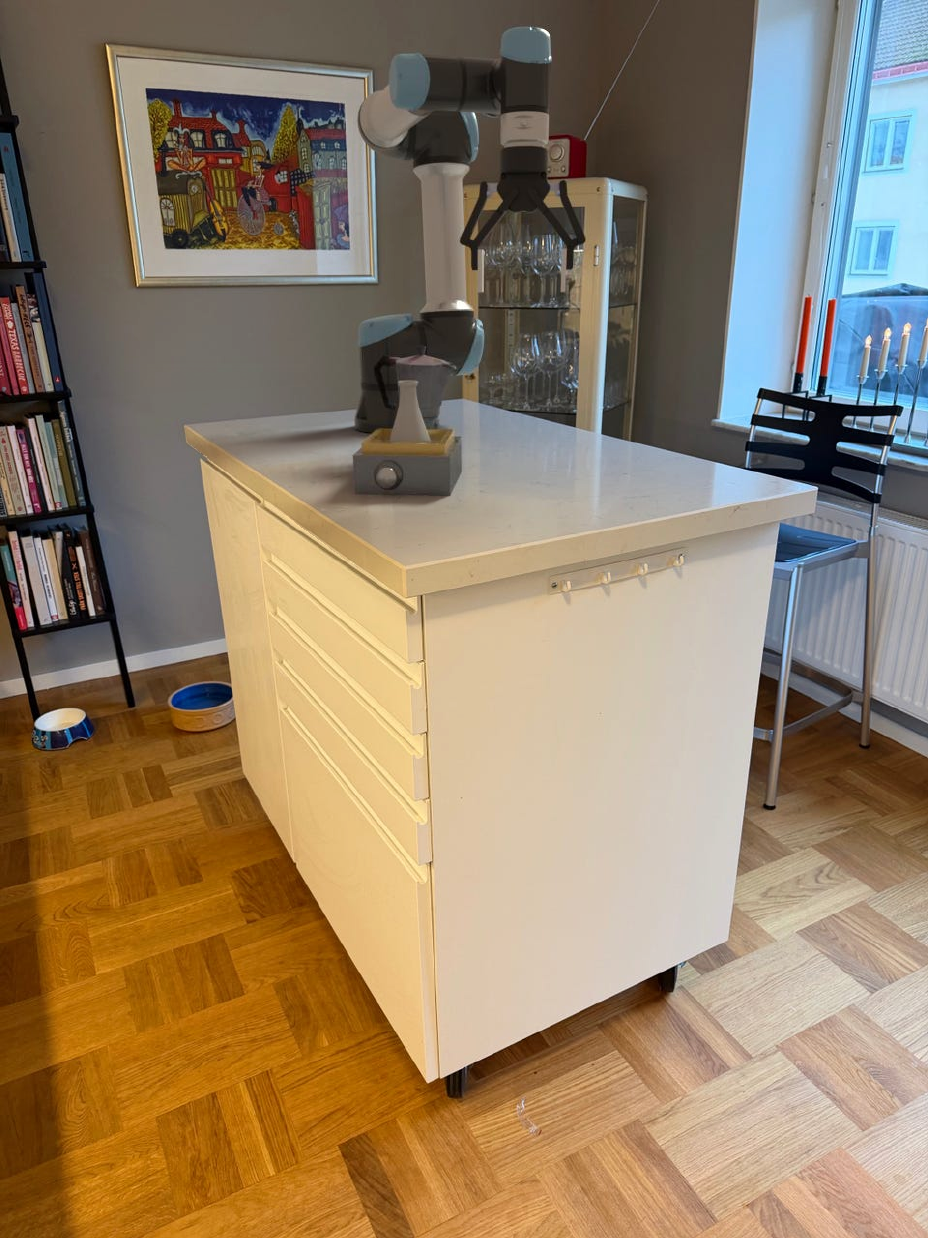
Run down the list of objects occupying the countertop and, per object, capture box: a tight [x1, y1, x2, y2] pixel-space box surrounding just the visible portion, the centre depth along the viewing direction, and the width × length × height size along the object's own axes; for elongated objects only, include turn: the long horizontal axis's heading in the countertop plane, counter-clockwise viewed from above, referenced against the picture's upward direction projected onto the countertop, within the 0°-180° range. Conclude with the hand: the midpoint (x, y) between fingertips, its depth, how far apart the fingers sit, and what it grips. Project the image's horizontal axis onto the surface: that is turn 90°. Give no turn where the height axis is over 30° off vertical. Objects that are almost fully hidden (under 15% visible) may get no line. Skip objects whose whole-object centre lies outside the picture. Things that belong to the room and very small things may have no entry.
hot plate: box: [352, 428, 463, 496], centre depth 139 cm, size 19×15×8 cm
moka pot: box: [374, 345, 456, 429], centre depth 155 cm, size 10×15×20 cm, turn 78°
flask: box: [389, 380, 431, 443], centre depth 137 cm, size 7×7×10 cm
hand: (521, 292), depth 143 cm, fingers open, 13 cm apart
